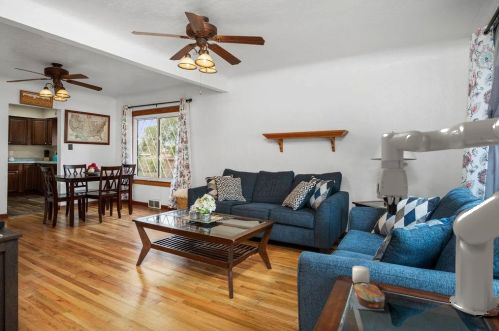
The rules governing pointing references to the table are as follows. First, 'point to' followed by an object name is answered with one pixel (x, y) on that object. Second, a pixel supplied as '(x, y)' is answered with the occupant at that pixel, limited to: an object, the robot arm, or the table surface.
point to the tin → (368, 295)
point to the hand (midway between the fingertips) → (392, 214)
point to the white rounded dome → (360, 274)
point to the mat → (361, 305)
